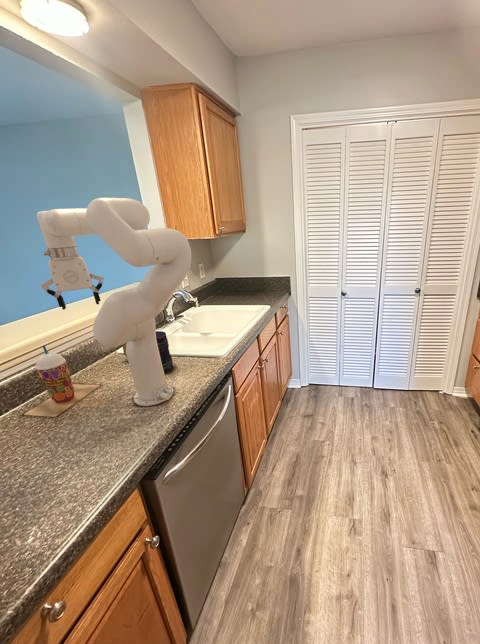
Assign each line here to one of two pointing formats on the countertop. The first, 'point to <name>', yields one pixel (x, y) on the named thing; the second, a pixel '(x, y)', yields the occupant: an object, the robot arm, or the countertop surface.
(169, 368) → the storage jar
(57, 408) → the board
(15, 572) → the countertop surface
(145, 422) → the countertop surface
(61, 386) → the smoothie
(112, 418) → the countertop surface
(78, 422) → the countertop surface
